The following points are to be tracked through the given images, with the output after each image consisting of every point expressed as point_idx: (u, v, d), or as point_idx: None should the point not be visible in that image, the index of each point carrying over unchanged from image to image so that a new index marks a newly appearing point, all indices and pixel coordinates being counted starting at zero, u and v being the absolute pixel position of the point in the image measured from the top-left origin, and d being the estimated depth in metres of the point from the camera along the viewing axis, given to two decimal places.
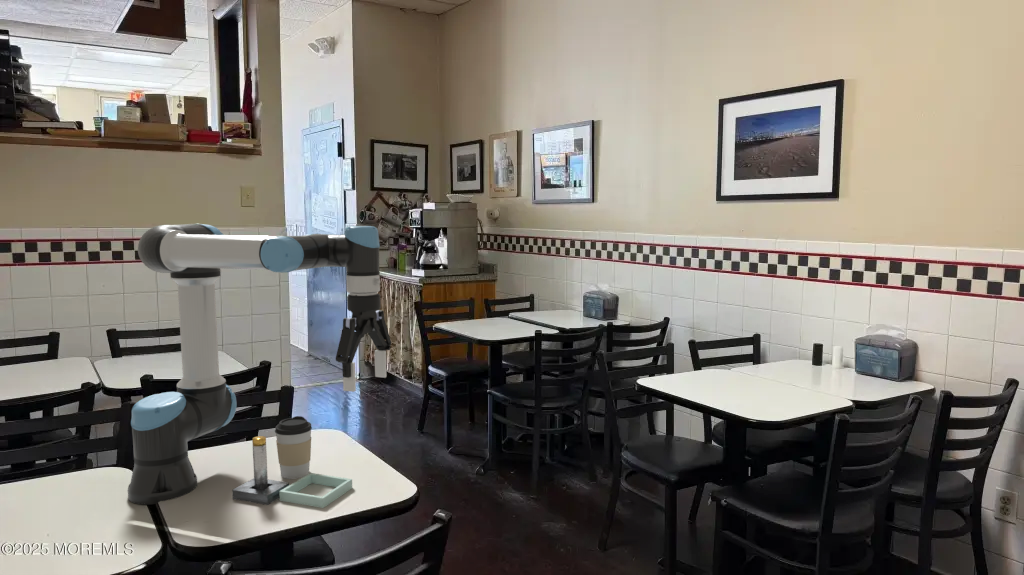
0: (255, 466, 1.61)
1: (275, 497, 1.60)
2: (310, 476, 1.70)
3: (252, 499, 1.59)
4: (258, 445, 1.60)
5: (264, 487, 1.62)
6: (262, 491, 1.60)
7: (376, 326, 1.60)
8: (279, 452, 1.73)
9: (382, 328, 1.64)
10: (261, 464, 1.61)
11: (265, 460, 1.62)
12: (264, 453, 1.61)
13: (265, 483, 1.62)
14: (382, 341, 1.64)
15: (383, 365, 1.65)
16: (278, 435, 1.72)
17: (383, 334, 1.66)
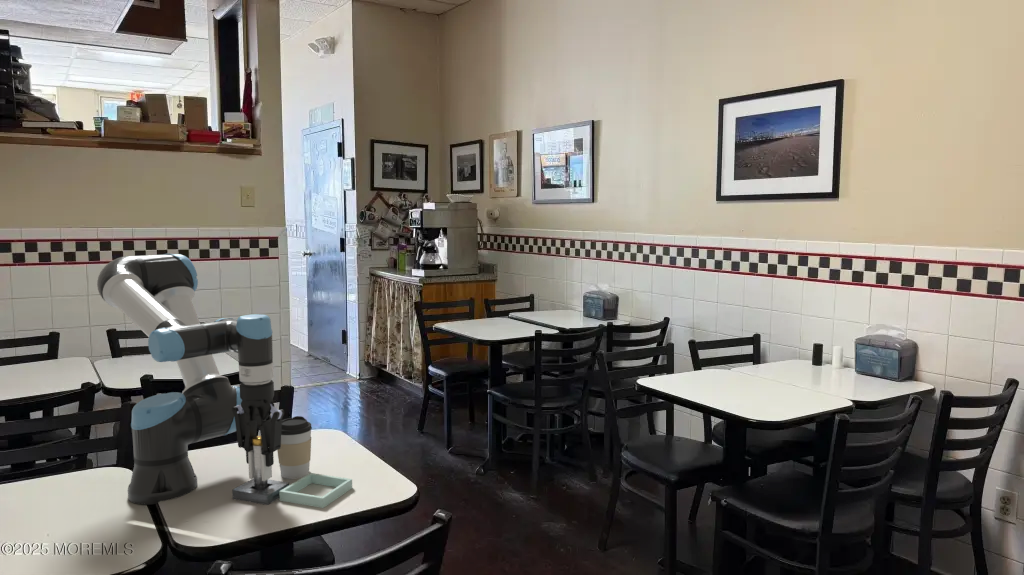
0: (255, 466, 1.61)
1: (275, 497, 1.60)
2: (310, 476, 1.70)
3: (252, 499, 1.59)
4: (258, 445, 1.60)
5: (264, 487, 1.62)
6: (262, 491, 1.60)
7: (258, 418, 1.59)
8: (279, 452, 1.73)
9: None
10: None
11: None
12: None
13: (265, 483, 1.62)
14: (262, 440, 1.60)
15: None
16: None
17: None
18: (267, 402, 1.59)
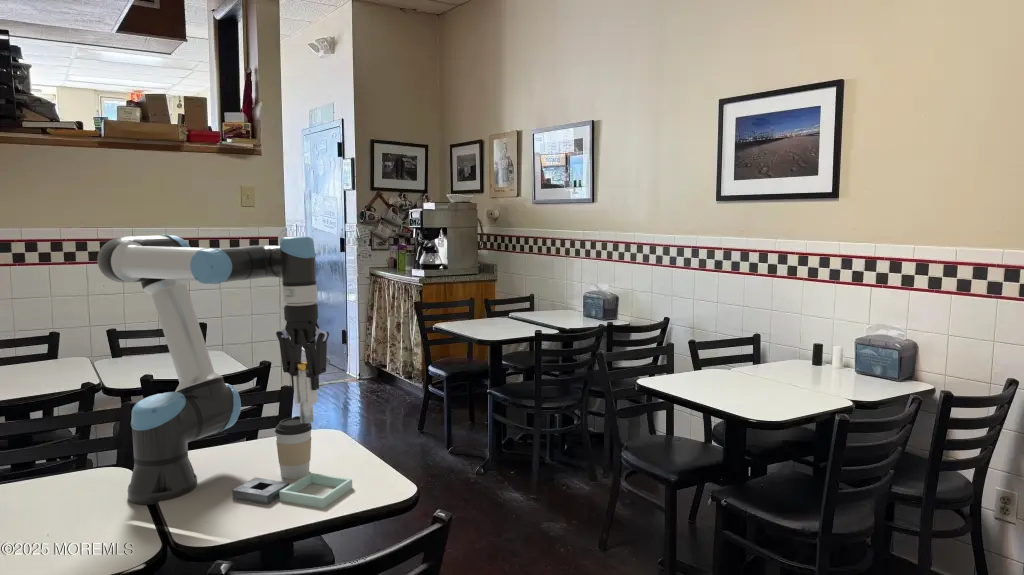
0: (300, 391, 1.59)
1: (275, 497, 1.60)
2: (310, 476, 1.70)
3: (252, 499, 1.59)
4: (303, 369, 1.58)
5: (310, 413, 1.60)
6: (262, 491, 1.60)
7: (303, 340, 1.57)
8: (279, 452, 1.73)
9: None
10: (306, 389, 1.59)
11: None
12: None
13: (311, 409, 1.60)
14: (308, 362, 1.58)
15: None
16: (278, 435, 1.72)
17: None
18: (312, 323, 1.57)
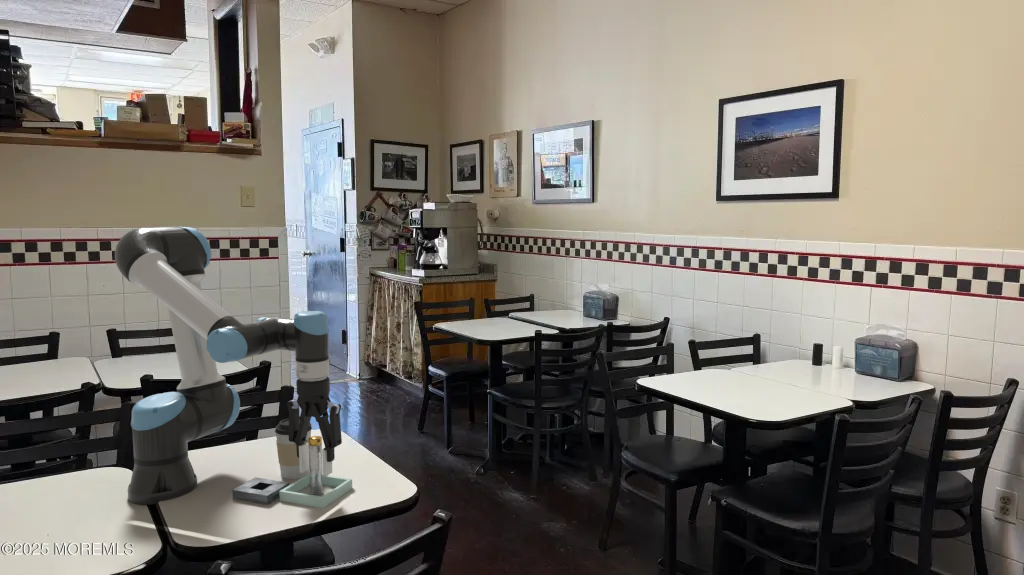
0: (311, 466, 1.62)
1: (275, 497, 1.60)
2: None
3: (252, 499, 1.59)
4: (314, 445, 1.61)
5: (320, 487, 1.63)
6: (262, 491, 1.60)
7: (316, 414, 1.59)
8: (279, 452, 1.73)
9: None
10: (317, 464, 1.62)
11: (321, 460, 1.63)
12: (320, 453, 1.62)
13: (321, 483, 1.63)
14: (322, 435, 1.60)
15: None
16: (278, 435, 1.72)
17: None
18: (323, 398, 1.59)
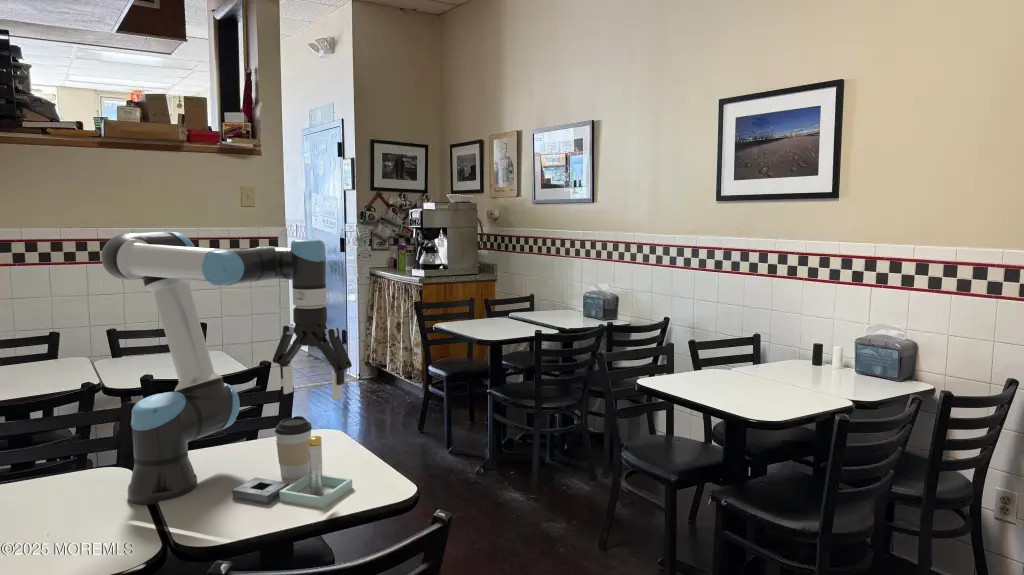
0: (311, 466, 1.62)
1: (275, 497, 1.60)
2: None
3: (252, 499, 1.59)
4: (314, 445, 1.61)
5: (319, 487, 1.63)
6: (262, 491, 1.60)
7: (315, 342, 1.57)
8: (279, 452, 1.73)
9: None
10: (317, 464, 1.62)
11: (321, 460, 1.63)
12: (320, 453, 1.62)
13: (320, 483, 1.63)
14: (329, 360, 1.57)
15: None
16: (278, 435, 1.72)
17: None
18: (318, 326, 1.58)
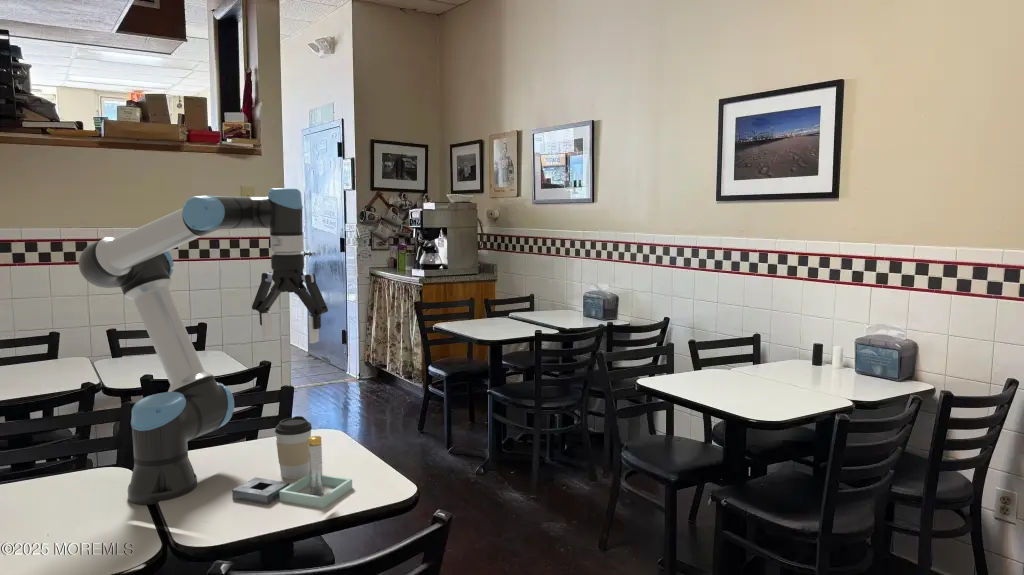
0: (311, 466, 1.62)
1: (275, 497, 1.60)
2: None
3: (252, 499, 1.59)
4: (314, 445, 1.61)
5: (319, 487, 1.63)
6: (262, 491, 1.60)
7: (292, 287, 1.63)
8: (279, 452, 1.73)
9: None
10: (317, 464, 1.62)
11: (321, 460, 1.63)
12: (320, 453, 1.62)
13: (320, 483, 1.63)
14: (306, 305, 1.62)
15: None
16: (278, 435, 1.72)
17: None
18: (295, 272, 1.63)
